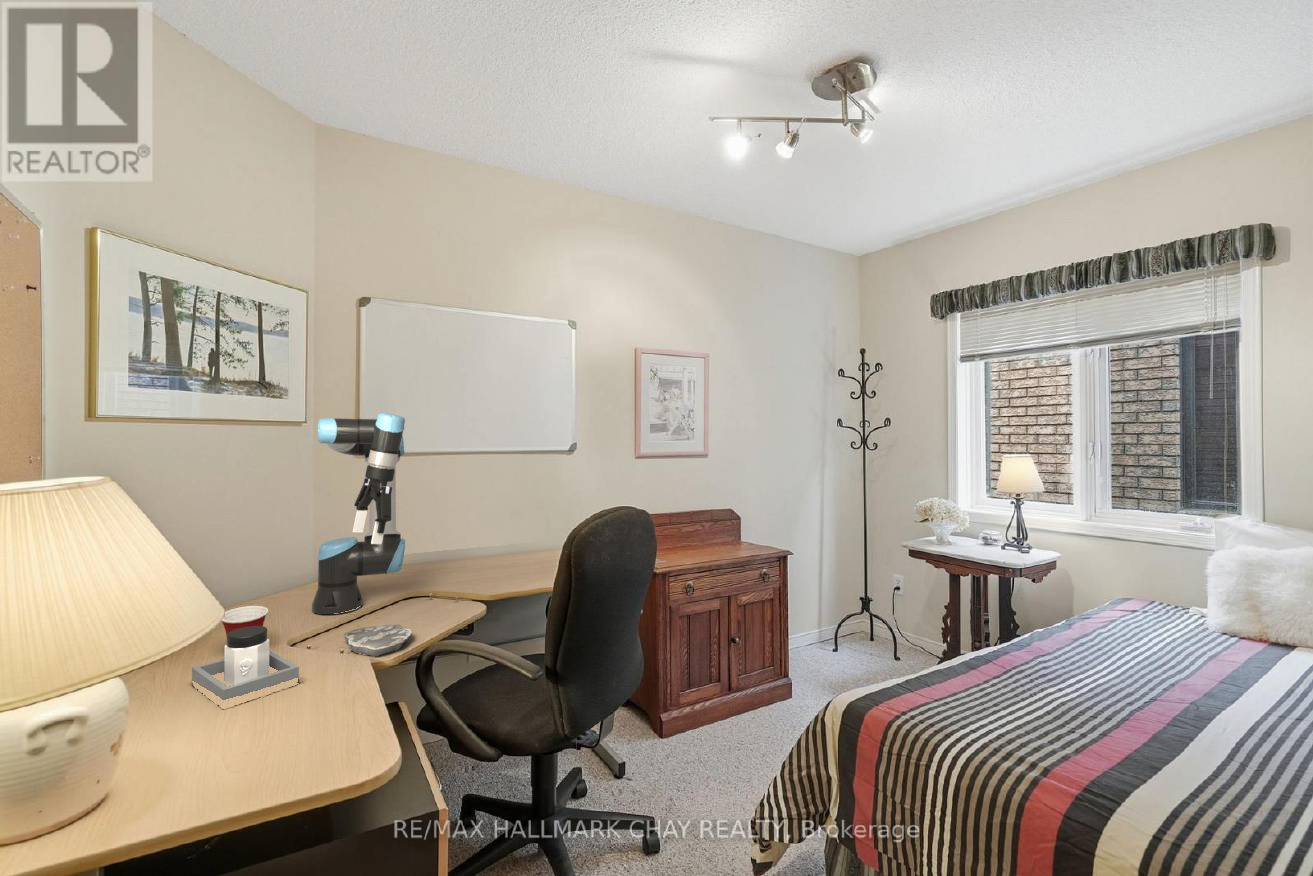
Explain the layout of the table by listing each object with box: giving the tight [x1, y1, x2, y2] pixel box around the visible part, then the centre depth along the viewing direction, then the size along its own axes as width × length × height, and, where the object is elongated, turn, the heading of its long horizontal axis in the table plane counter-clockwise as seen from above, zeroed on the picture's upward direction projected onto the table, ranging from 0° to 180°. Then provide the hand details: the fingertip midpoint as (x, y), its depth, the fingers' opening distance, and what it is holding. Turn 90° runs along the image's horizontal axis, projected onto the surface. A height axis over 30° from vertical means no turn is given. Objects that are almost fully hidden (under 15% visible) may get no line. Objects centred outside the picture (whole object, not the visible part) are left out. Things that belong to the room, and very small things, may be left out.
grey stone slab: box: [343, 624, 413, 657], centre depth 169 cm, size 20×17×3 cm
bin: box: [191, 649, 300, 700], centre depth 142 cm, size 19×16×4 cm
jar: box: [223, 625, 270, 685], centre depth 142 cm, size 9×8×12 cm
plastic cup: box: [220, 605, 269, 637], centre depth 159 cm, size 11×11×12 cm
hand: (366, 538), depth 170 cm, fingers open, 13 cm apart
